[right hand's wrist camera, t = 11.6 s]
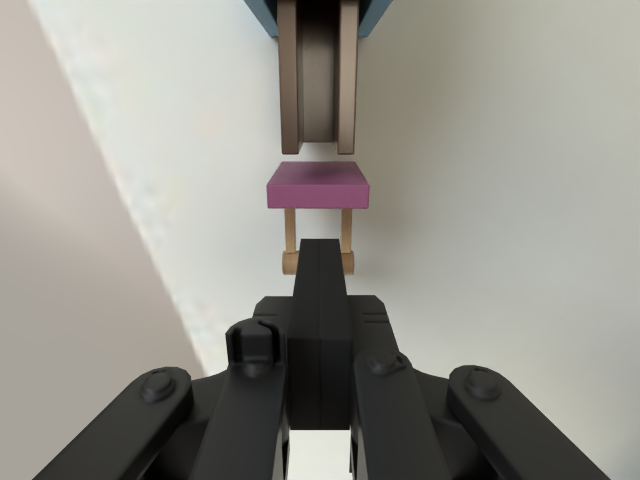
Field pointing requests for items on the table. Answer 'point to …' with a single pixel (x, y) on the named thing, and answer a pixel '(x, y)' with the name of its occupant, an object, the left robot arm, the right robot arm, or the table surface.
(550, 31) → the table surface
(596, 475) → the right robot arm
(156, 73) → the table surface
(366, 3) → the cabinet
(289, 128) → the drawer
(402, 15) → the table surface
